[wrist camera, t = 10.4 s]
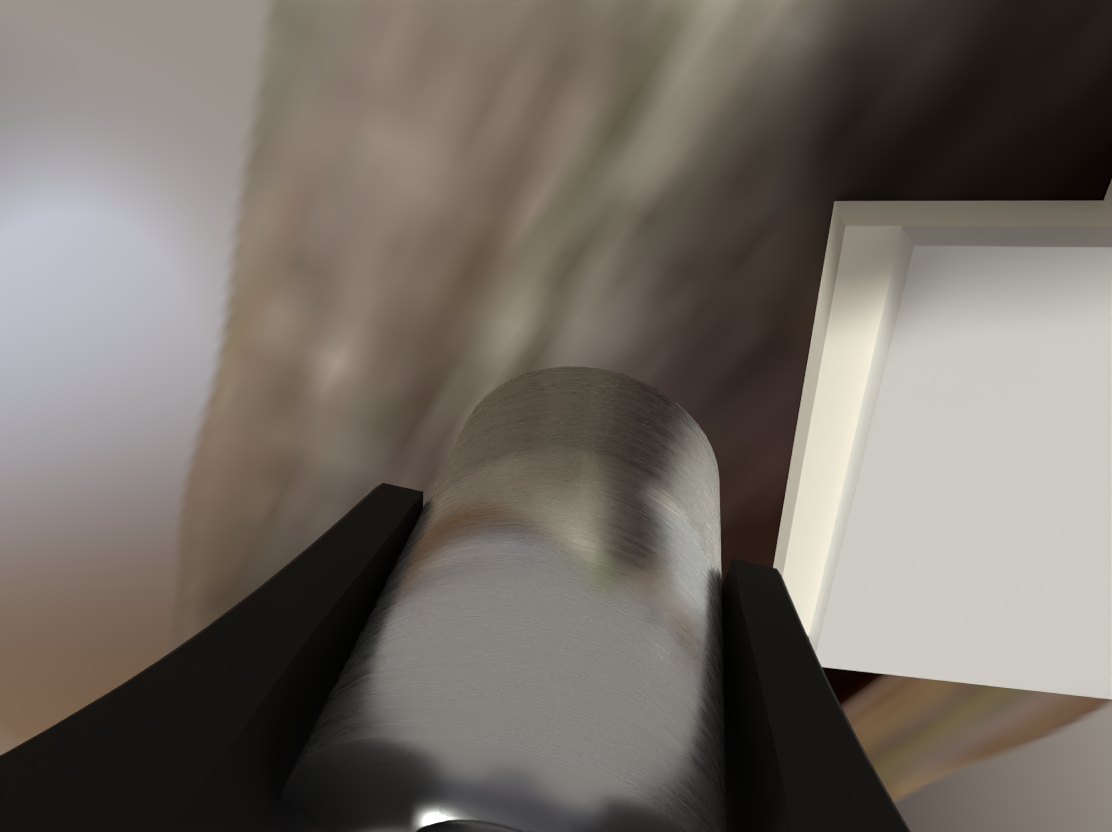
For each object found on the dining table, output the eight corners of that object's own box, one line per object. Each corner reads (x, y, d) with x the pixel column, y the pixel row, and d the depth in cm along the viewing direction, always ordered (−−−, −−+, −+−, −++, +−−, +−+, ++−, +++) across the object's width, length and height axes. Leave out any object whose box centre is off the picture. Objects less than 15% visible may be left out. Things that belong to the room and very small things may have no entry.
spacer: (687, 594, 13) (675, 1006, 8) (455, 547, 13) (305, 911, 8) (750, 395, 10) (788, 820, 5) (460, 343, 11) (246, 695, 6)
